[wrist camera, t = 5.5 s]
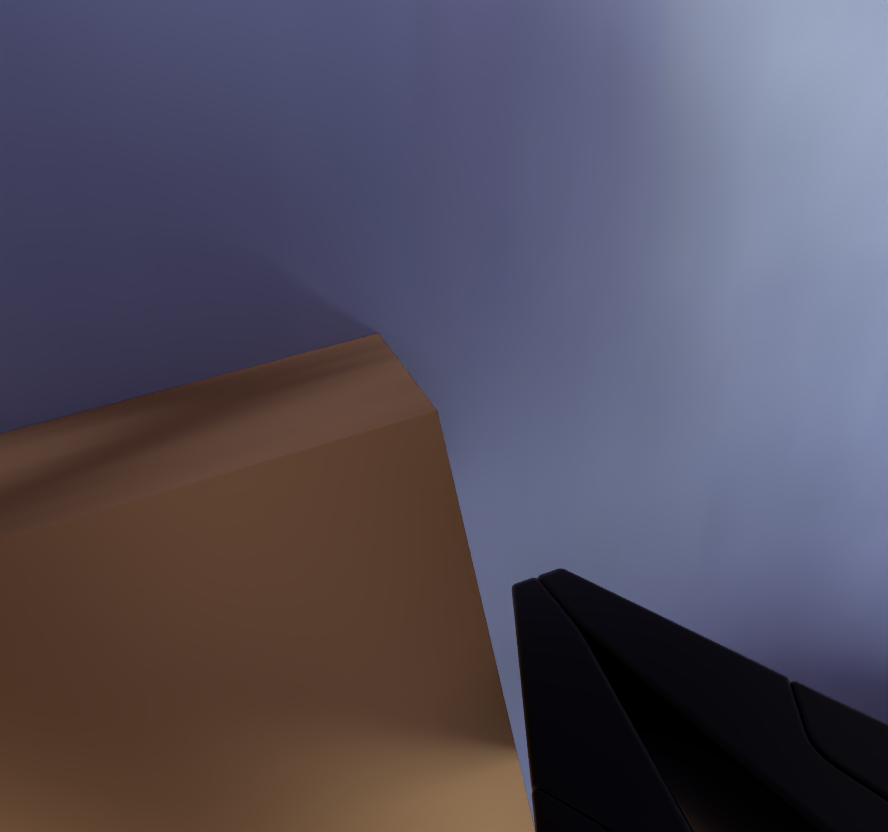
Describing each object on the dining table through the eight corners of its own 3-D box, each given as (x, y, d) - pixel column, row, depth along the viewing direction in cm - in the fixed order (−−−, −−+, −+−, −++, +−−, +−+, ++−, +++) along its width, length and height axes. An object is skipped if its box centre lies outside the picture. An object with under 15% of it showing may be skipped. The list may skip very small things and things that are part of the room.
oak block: (375, 329, 9) (436, 410, 5) (480, 728, 13) (564, 959, 9) (-142, 466, 8) (-595, 715, 4) (137, 865, 12) (52, 1206, 8)
